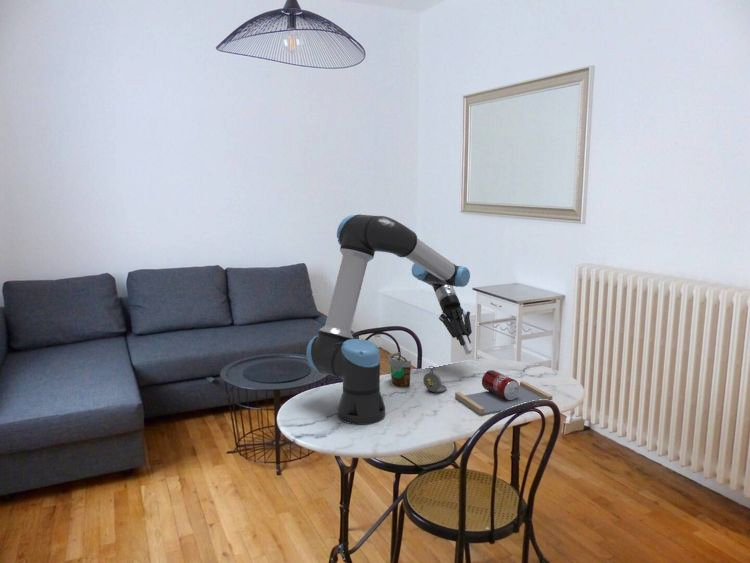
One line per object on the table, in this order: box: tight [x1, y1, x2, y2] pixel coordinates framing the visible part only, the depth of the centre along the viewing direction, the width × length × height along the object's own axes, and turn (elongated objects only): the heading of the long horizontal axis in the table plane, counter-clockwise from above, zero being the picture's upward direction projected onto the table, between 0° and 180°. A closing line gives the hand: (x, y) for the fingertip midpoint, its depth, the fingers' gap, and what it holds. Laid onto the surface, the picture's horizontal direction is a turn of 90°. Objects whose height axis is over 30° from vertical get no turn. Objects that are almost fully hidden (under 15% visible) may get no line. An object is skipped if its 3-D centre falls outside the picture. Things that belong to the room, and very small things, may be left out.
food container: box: [388, 352, 412, 388], centre depth 207 cm, size 12×6×10 cm, turn 17°
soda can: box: [481, 369, 520, 400], centre depth 194 cm, size 7×7×12 cm
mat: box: [454, 380, 553, 417], centre depth 191 cm, size 28×16×2 cm, turn 112°
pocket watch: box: [422, 365, 447, 394], centre depth 199 cm, size 8×8×10 cm
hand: (469, 352), depth 209 cm, fingers closed
